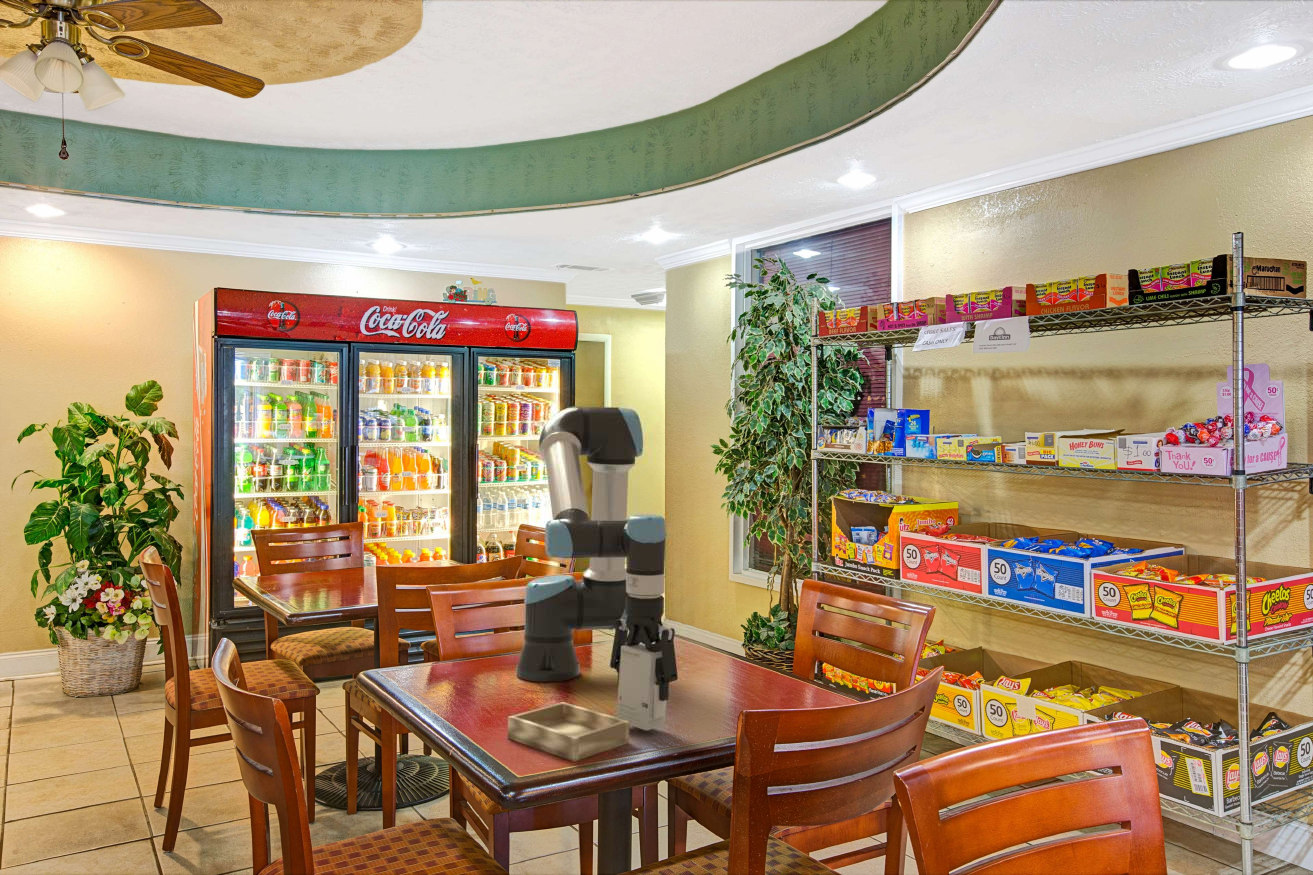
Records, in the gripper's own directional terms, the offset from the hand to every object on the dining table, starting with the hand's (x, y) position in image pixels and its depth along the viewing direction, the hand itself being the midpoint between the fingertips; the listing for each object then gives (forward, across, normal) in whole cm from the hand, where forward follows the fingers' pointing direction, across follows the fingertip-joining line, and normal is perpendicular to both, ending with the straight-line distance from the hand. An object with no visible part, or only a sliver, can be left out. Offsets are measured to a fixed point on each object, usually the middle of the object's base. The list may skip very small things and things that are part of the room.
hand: (642, 711), depth 173 cm
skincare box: (+3, 0, 0) cm, 3 cm away
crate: (+4, -6, -14) cm, 16 cm away
